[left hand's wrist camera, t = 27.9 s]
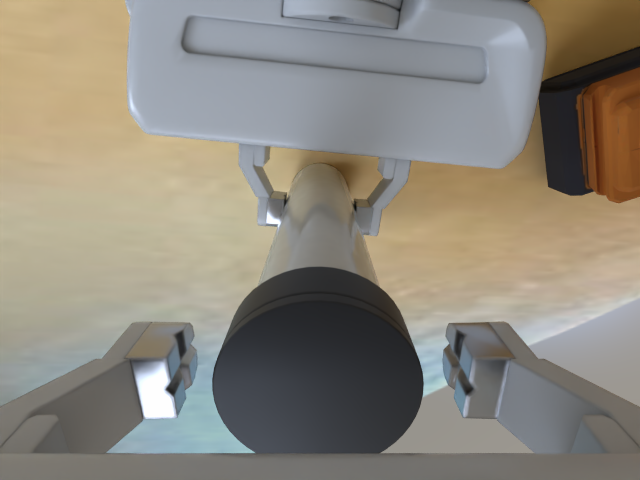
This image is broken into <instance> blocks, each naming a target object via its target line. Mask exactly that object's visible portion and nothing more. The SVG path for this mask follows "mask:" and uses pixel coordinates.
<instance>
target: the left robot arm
mask: <svg viewBox="0 0 640 480" xmlns="http://www.w3.org/2000/svg"><path fill="white" fill-rule="evenodd" d="M193 338H194V331H193V326H192V325H191V323H184V322H134V323H132V324H131V325H130V326H129V327H128V328H127V330H126V331H125V332H124V333H123V334H122V335H121V337H120V338H119V339H118V340H117V341H116V343H115V344H114V345H113V346H112V347H111V348H110V350H109V351H108V352H107V353H106V354H105V356H104V357H103V358H102V359H95V360H93V361H91V362H89V363H87V364H85V365H83V366H81V367H79V368H77V369H75V370H73V371H71V372H69V373H67V374H65V375H63V376H61V377H59V378H57V379H55V380H53V381H51V382H49V383H47V384H45V385H43V386H41V387H39V388H37V389H35V390H33V391H31V392H29V393H27V394H25V395H23V396H21V397H19V398H17V399H15V400H13V401H11V402H9V403H7V404H5V405H3V406H1V407H0V480H640V407H639V406H637V405H635V404H633V403H631V402H629V401H627V400H625V399H623V398H621V397H619V396H617V395H615V394H613V393H611V392H609V391H607V390H605V389H603V388H601V387H599V386H597V385H595V384H593V383H591V382H589V381H587V380H585V379H583V378H581V377H579V376H577V375H575V374H573V373H571V372H569V371H567V370H565V369H563V368H561V367H559V366H557V365H555V364H553V363H551V362H549V361H547V360H545V359H538V358H537V357H536V356H535V354H534V353H533V352H532V351H531V350H530V349H529V347H528V346H527V345H526V344H525V343H524V341H523V340H522V339H521V338H520V337H519V336H518V334H517V333H516V332H515V331H514V330H513V328H512V327H511V326H510V325H509V324H508V323H506V322H481V323H449V324H448V326H447V330H446V338H447V340H448V342H449V345H448V346H447V347H446V348H445V349H444V350H443V359H442V361H443V372H444V375H445V379H446V381H447V383H448V385H449V386H450V387H452V388H453V389H454V390H455V394H454V399H455V401H456V404H457V406H458V408H459V410H460V412H461V414H462V417H463V418H482V419H497V421H498V422H499V423H501V424H502V425H503V426H504V427H505V428H506V429H508V430H509V431H510V432H511V433H512V434H513V435H515V436H516V437H517V438H518V439H519V440H520V441H521V442H523V443H524V444H525V445H526V446H527V447H528V448H529V449H531V450H532V451H533V452H534V453H106V452H107V451H108V450H109V449H111V448H112V447H113V446H114V445H115V444H116V443H118V442H119V441H120V440H121V439H122V438H123V437H125V436H126V435H127V434H128V433H129V432H130V431H132V430H133V429H134V428H135V427H136V426H137V425H138V424H140V423H141V422H142V421H143V419H159V418H177V417H178V415H179V412H180V410H181V408H182V406H183V404H184V401H185V399H186V394H185V390H186V389H187V388H188V387H190V386H191V385H192V383H193V381H194V379H195V376H196V371H197V350H196V349H195V348H194V347H193V346H192V345H191V342H192V340H193Z"/></svg>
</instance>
